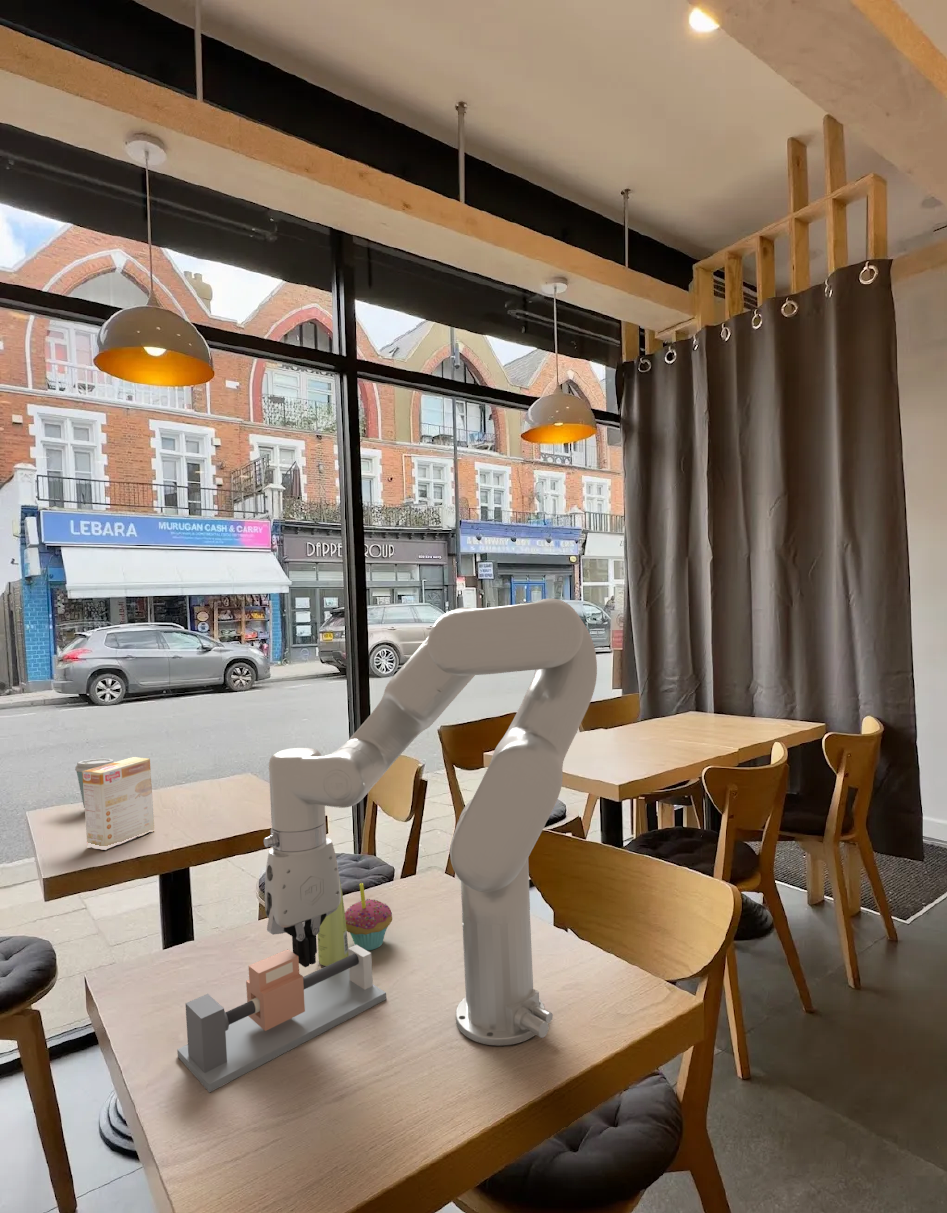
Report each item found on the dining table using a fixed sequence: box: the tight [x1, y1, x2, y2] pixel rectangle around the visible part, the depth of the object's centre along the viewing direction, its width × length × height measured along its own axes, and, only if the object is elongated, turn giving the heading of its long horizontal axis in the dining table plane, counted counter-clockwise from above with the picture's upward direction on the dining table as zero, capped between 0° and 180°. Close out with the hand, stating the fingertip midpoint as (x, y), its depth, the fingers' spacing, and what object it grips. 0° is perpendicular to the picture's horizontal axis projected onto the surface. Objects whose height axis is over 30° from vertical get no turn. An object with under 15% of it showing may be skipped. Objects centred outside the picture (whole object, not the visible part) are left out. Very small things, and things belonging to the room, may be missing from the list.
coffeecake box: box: [82, 756, 155, 846], centre depth 185 cm, size 15×7×20 cm, turn 154°
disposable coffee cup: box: [74, 758, 116, 809], centre depth 211 cm, size 11×11×15 cm
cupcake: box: [345, 879, 393, 951], centre depth 125 cm, size 9×8×12 cm
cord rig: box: [176, 944, 387, 1093], centre depth 102 cm, size 27×10×8 cm, turn 133°
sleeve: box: [245, 949, 305, 1031], centre depth 101 cm, size 6×5×8 cm
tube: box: [317, 876, 349, 967], centre depth 120 cm, size 6×5×20 cm
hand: (305, 962), depth 104 cm, fingers closed
